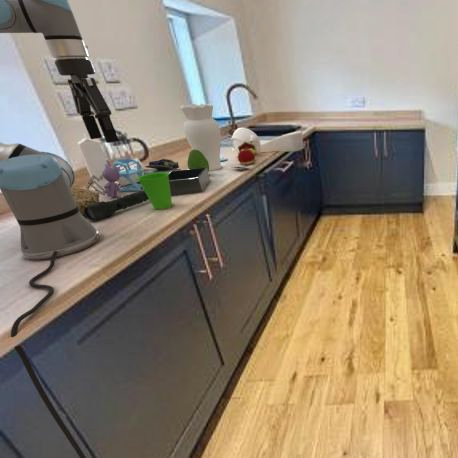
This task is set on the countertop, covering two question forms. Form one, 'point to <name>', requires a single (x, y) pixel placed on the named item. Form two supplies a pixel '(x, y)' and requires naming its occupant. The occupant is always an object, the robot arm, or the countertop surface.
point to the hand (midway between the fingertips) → (104, 140)
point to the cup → (157, 189)
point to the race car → (163, 164)
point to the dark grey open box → (188, 181)
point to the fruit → (197, 160)
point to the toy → (223, 159)
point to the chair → (129, 173)
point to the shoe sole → (284, 143)
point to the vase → (203, 132)
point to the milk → (93, 160)
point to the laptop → (240, 167)
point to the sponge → (84, 198)
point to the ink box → (124, 181)
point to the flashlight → (114, 205)
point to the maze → (96, 184)
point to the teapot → (244, 138)
